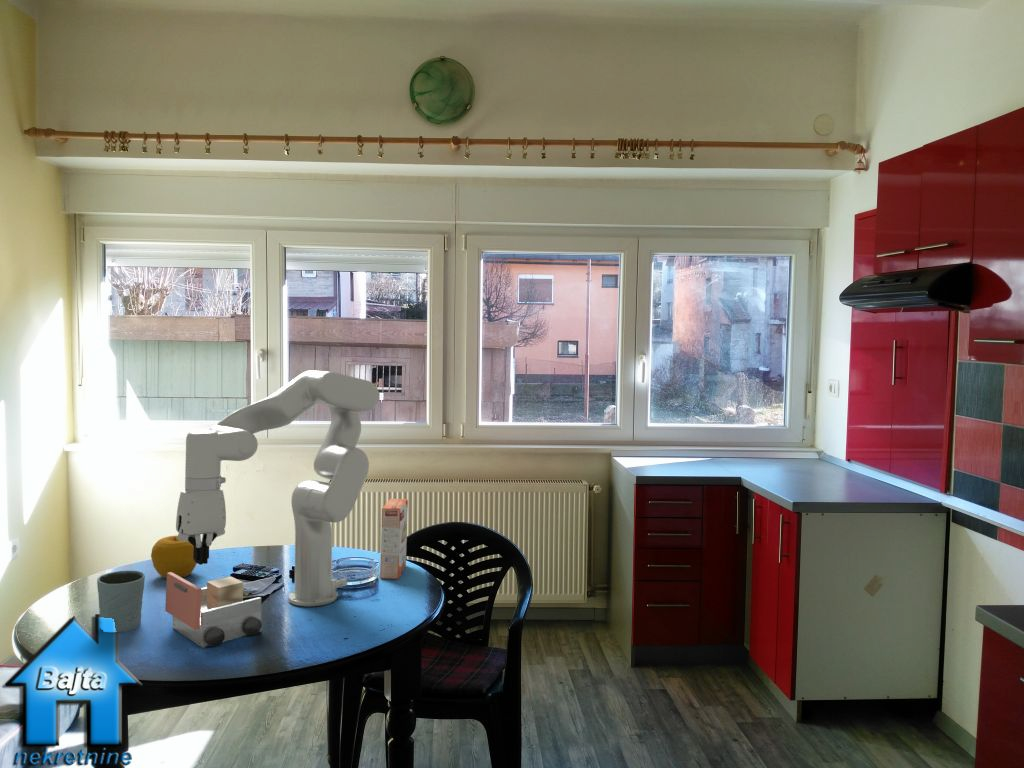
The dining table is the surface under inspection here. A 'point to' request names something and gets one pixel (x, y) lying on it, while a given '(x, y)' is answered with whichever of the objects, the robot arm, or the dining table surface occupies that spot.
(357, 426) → the robot arm
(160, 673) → the dining table surface
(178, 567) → the apple
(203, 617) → the cart
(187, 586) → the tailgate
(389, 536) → the cracker box
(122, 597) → the grey round bin
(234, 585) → the box
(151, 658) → the dining table surface
